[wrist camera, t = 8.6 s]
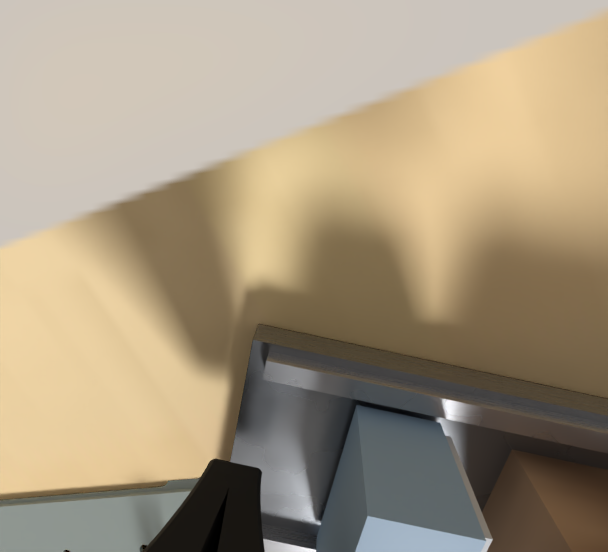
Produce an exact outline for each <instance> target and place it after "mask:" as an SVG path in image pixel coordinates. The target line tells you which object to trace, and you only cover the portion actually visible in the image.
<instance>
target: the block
mask: <svg viewBox="0 0 608 552" xmlns="http://www.w3.org/2000/svg"><path fill="white" fill-rule="evenodd" d="M482 514H483V517H484V519H485V522H486V524H487V527H488V529H489V531H490V534H491V536H492V539H493V540H492V542H491V544H490V546H489V548H488V550H487V552H608V470H606V469H601V468H597V467H592V466H587V465H583V464H578V463H573V462H569V461H564V460H559V459H555V458H550V457H545V456H541V455H536V454H531V453H526V452H522V451H517V450H511V452H510V455H509V457H508V459H507V461H506V463H505V465H504V467H503V469H502V471H501V473H500V476H499V478H498V480H497V482H496V484H495V486H494V488H493V490H492V492H491V494H490V497H489V499H488V501H487V503H486V505H485V507H484V509H483V511H482Z"/></svg>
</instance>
